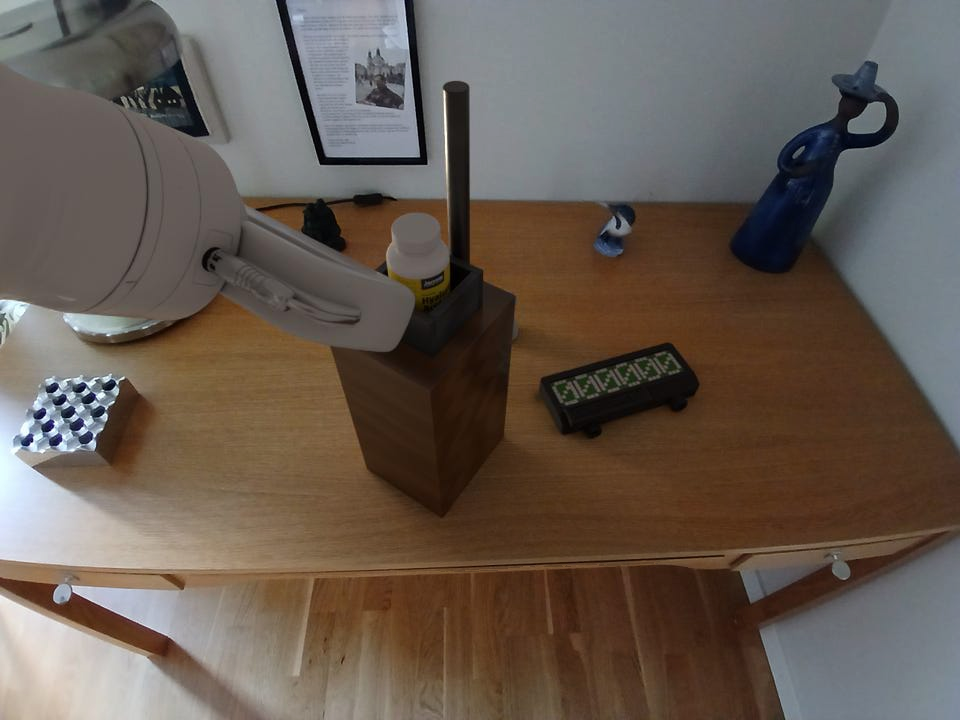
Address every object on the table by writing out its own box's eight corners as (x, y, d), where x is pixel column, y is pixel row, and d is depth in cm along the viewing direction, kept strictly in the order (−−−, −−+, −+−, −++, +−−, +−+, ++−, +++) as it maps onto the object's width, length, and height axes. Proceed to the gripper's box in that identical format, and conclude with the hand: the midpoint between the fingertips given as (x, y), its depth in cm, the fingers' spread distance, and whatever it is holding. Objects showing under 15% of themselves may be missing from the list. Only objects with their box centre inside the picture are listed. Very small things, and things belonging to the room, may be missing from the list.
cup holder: (442, 518, 67) (411, 197, 32) (366, 468, 71) (266, 136, 36) (504, 435, 75) (532, 103, 40) (432, 395, 79) (401, 61, 44)
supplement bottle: (428, 341, 50) (420, 257, 43) (382, 316, 52) (367, 231, 45) (462, 306, 53) (461, 221, 46) (417, 283, 55) (409, 199, 47)
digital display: (569, 433, 71) (538, 376, 77) (566, 447, 74) (536, 390, 80) (711, 390, 76) (671, 339, 82) (703, 404, 78) (665, 353, 84)
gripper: (335, 240, 21) (476, 285, 34) (36, 91, 28) (246, 175, 41) (278, 388, 22) (435, 377, 35) (3, 209, 29) (218, 255, 42)
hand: (332, 267), depth 38 cm, fingers open, 8 cm apart
